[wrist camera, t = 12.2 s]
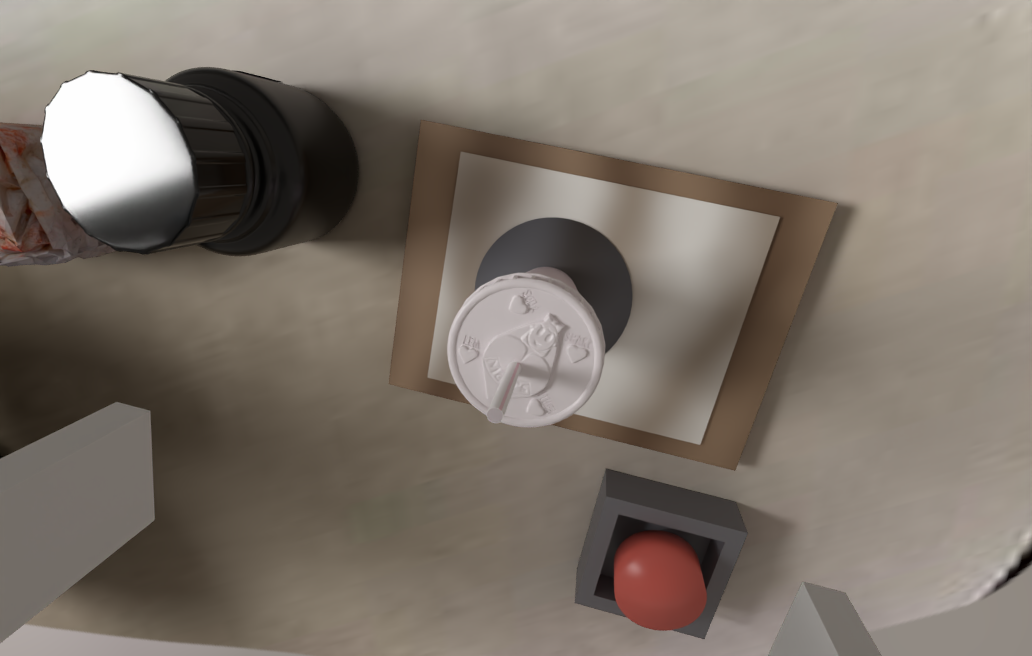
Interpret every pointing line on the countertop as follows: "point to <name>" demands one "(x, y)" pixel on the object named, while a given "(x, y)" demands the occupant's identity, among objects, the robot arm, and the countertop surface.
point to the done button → (658, 580)
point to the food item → (35, 206)
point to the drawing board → (613, 279)
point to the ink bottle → (197, 161)
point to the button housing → (664, 508)
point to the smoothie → (527, 348)
